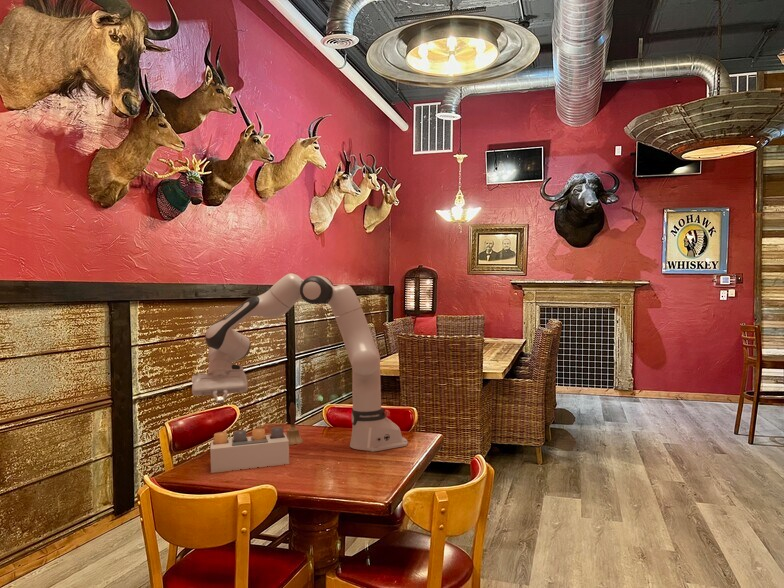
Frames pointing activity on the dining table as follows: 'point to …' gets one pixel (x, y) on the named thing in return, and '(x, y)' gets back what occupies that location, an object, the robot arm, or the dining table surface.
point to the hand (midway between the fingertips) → (220, 402)
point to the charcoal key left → (276, 432)
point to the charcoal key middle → (239, 436)
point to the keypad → (249, 453)
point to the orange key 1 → (220, 438)
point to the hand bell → (293, 428)
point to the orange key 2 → (258, 434)
